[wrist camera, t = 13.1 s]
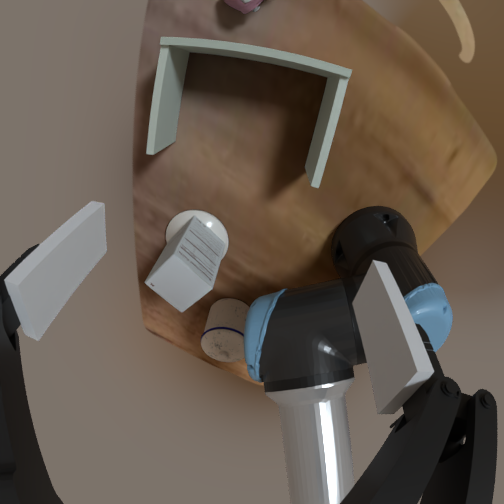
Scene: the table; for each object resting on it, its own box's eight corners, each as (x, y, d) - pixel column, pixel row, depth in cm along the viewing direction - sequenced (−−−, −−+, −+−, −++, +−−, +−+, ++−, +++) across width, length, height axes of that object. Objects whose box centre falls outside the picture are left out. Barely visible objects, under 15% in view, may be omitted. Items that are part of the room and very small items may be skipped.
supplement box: (199, 266, 54) (181, 314, 43) (168, 239, 51) (141, 282, 40) (227, 243, 51) (214, 290, 40) (195, 213, 48) (172, 253, 38)
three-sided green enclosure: (184, 45, 35) (161, 36, 27) (335, 73, 36) (352, 70, 28) (169, 140, 43) (144, 155, 35) (310, 168, 44) (319, 189, 35)
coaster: (242, 241, 51) (241, 243, 51) (200, 275, 56) (199, 277, 55) (194, 196, 47) (193, 197, 47) (155, 236, 52) (154, 238, 51)
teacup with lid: (205, 323, 62) (194, 366, 52) (212, 291, 57) (200, 335, 47) (261, 336, 63) (257, 380, 53) (273, 306, 58) (271, 351, 48)
